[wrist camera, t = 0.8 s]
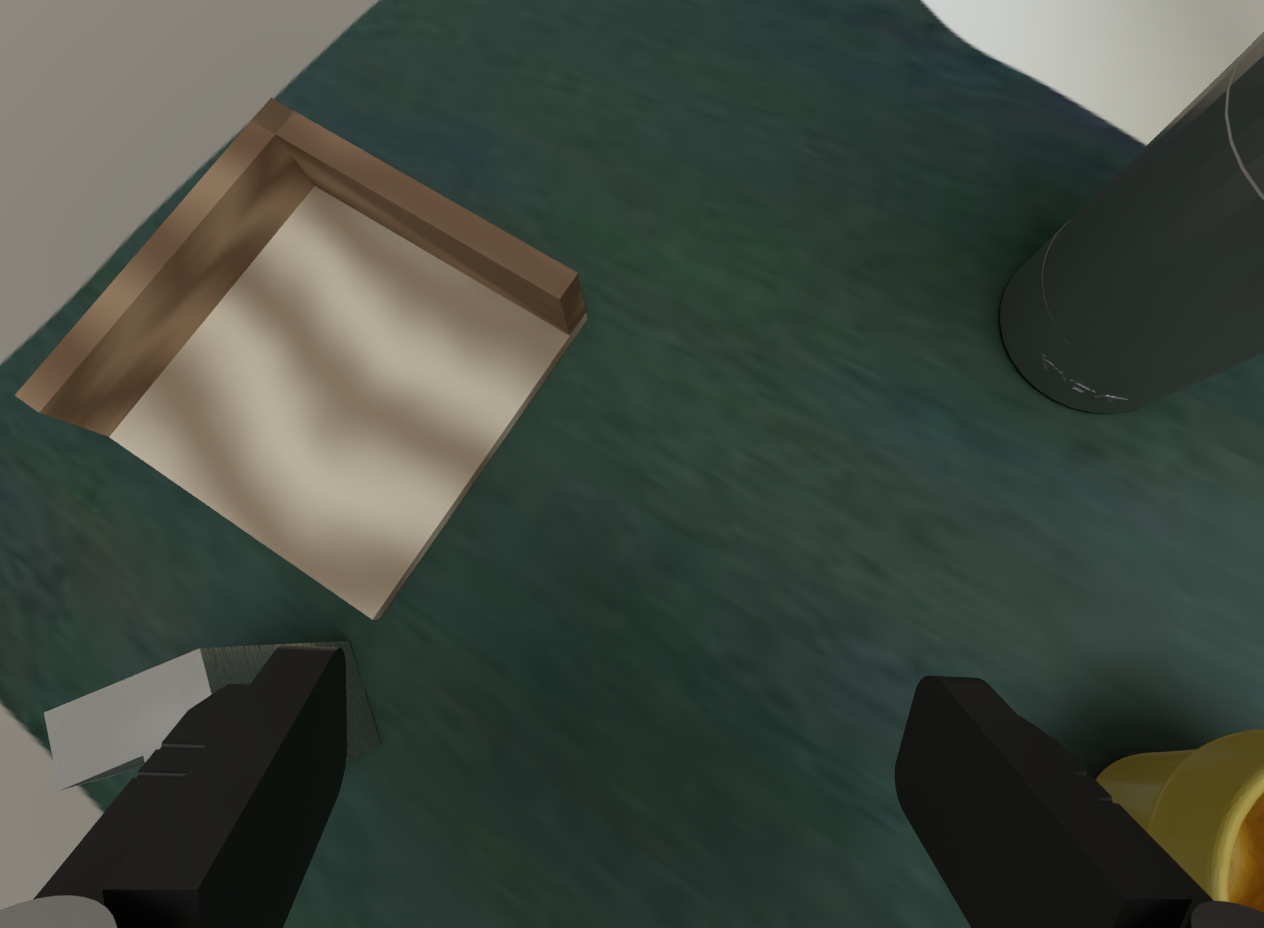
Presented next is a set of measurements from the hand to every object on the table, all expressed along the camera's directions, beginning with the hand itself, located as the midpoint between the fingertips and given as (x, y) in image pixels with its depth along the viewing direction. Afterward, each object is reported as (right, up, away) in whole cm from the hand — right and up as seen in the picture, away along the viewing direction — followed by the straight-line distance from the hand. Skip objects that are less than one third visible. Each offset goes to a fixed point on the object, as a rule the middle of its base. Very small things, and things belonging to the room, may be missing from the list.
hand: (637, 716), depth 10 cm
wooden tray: (-15, +8, +26) cm, 31 cm away
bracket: (-15, -8, +22) cm, 28 cm away
